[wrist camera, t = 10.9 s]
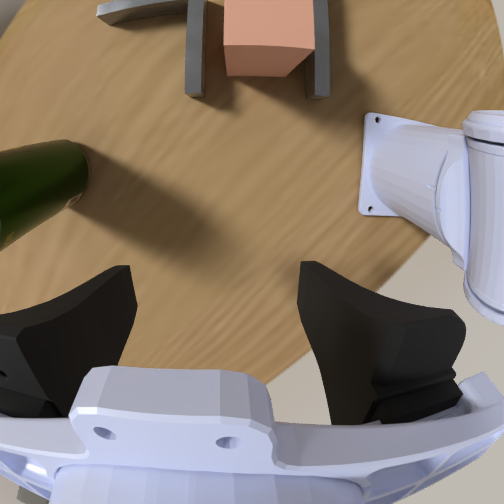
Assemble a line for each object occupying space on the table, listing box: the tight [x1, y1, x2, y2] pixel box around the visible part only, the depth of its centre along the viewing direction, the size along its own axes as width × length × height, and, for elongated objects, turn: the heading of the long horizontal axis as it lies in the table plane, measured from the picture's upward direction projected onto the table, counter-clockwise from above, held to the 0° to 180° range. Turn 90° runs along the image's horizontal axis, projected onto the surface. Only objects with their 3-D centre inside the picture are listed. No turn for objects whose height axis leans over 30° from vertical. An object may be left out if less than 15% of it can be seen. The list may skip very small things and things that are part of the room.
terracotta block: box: [224, 0, 315, 77], centre depth 13 cm, size 4×4×8 cm
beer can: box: [0, 140, 90, 251], centre depth 14 cm, size 5×5×12 cm
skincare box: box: [17, 486, 50, 504], centre depth 32 cm, size 8×7×16 cm
